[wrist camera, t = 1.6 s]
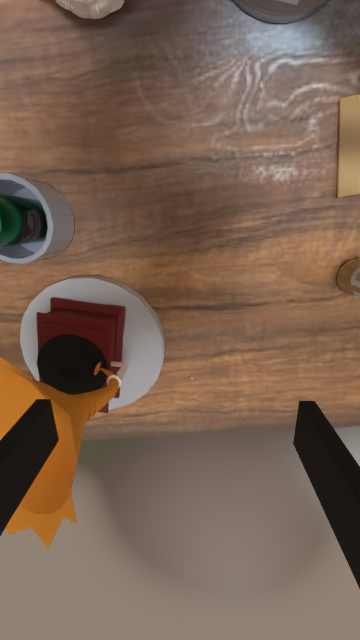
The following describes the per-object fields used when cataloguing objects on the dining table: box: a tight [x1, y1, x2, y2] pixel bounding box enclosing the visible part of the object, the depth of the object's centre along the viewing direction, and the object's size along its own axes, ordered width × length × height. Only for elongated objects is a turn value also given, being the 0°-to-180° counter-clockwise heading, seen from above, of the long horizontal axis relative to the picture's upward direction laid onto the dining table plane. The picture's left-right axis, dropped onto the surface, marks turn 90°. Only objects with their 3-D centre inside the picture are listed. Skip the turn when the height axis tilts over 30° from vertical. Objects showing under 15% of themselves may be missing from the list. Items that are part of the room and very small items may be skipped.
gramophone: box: [0, 275, 165, 548], centre depth 29 cm, size 20×20×25 cm
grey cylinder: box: [0, 173, 75, 264], centre depth 33 cm, size 9×9×6 cm
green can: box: [0, 194, 48, 247], centre depth 30 cm, size 5×5×12 cm
